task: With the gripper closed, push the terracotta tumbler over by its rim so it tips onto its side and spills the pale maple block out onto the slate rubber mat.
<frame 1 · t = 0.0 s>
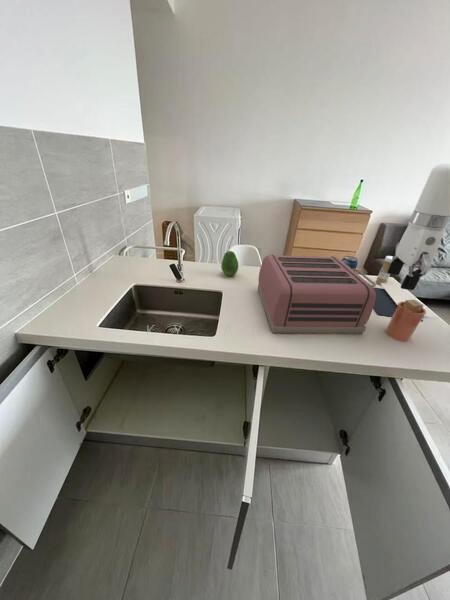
hand: (399, 281, 70), 21 cm above the worktop, tool pointing down, fingers open, 9 cm apart
fruit: (229, 275, 117), on the worktop
toaster: (308, 309, 94), on the worktop
sprinkles bottle: (380, 284, 117), on the worktop
soda can: (342, 282, 117), on the worktop
tumbler: (397, 334, 83), on the worktop, touching block
block: (409, 311, 78), point 9 cm above the worktop, touching tumbler
mat: (387, 302, 102), on the worktop
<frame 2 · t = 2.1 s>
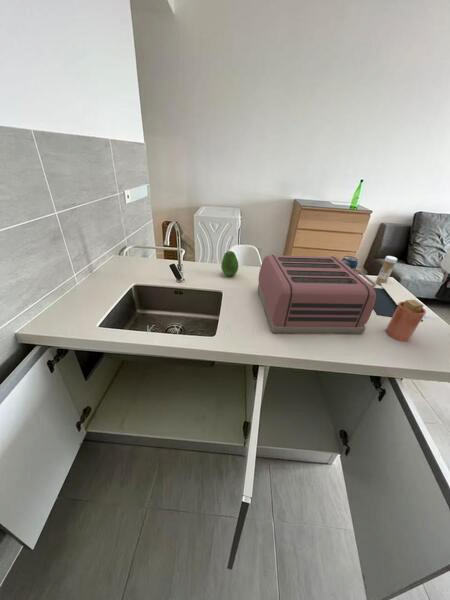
hand: (442, 299, 65), 20 cm above the worktop, tool pointing down, fingers closed
nothing on the worktop moved.
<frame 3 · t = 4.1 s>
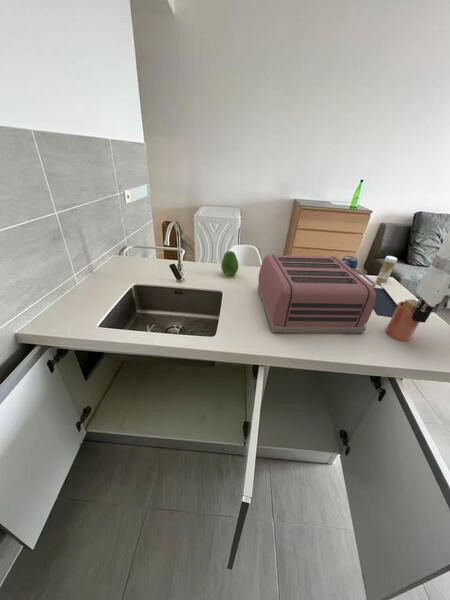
hand: (417, 320, 74), 10 cm above the worktop, tool pointing down, fingers closed
tumbler: (397, 334, 83), on the worktop, touching block, gripper
everything else where it was.
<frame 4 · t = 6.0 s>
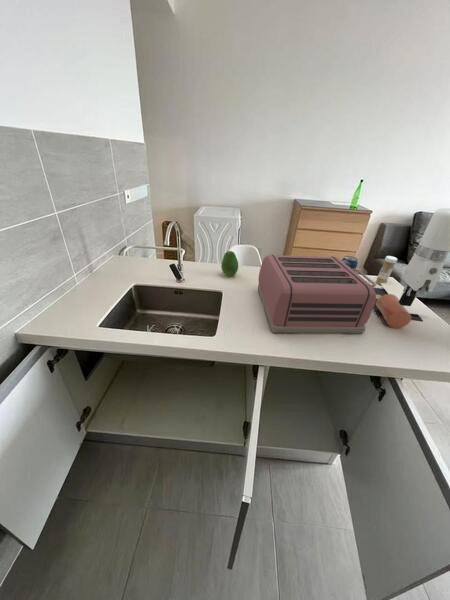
hand: (404, 304, 82), 10 cm above the worktop, tool pointing down, fingers closed
tumbler: (399, 319, 84), point 4 cm above the worktop, tilted 87°, touching mat
block: (378, 296, 98), point 4 cm above the worktop, tilted 180°, touching mat
everything else where it was.
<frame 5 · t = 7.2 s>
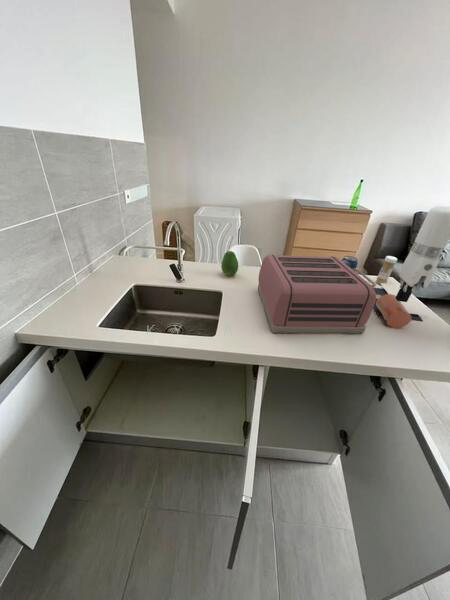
hand: (400, 300, 84), 10 cm above the worktop, tool pointing down, fingers closed
nothing on the worktop moved.
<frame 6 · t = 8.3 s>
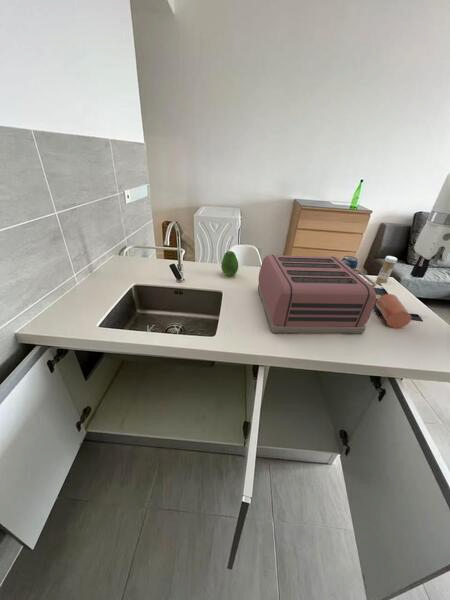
hand: (416, 276, 79), 19 cm above the worktop, tool pointing down, fingers closed
nothing on the worktop moved.
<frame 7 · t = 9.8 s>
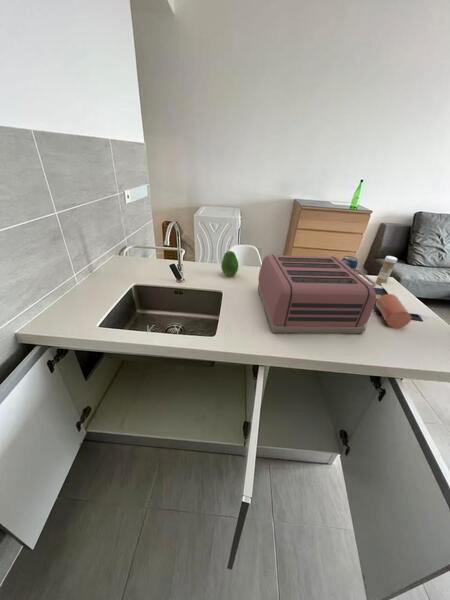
nothing on the worktop moved.
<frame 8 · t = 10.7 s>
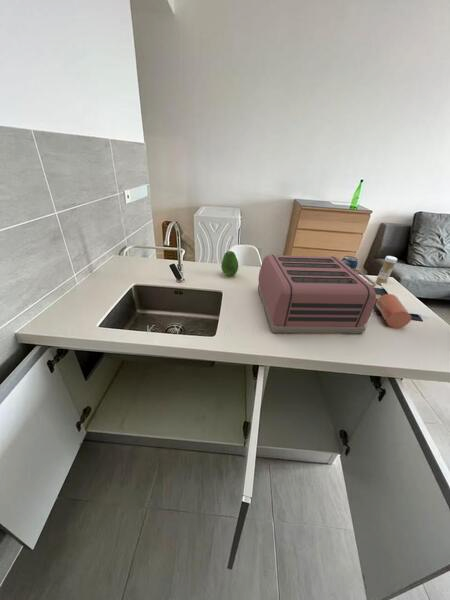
nothing on the worktop moved.
at the end: tumbler tilted 87°; block inside the target area on the mat (7.4 cm from its centre), point 3.8 cm above the mat's base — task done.
